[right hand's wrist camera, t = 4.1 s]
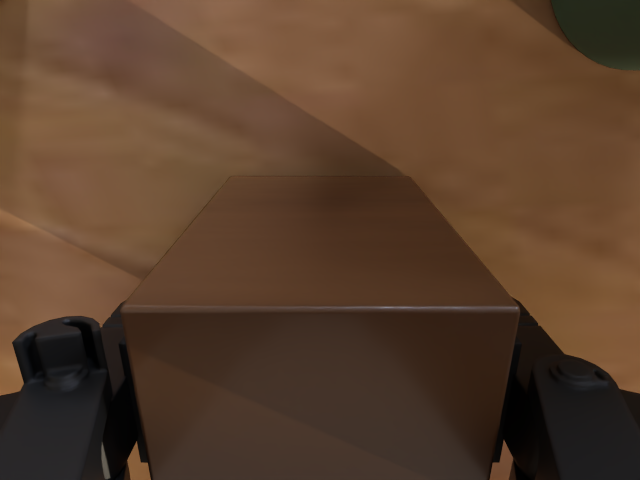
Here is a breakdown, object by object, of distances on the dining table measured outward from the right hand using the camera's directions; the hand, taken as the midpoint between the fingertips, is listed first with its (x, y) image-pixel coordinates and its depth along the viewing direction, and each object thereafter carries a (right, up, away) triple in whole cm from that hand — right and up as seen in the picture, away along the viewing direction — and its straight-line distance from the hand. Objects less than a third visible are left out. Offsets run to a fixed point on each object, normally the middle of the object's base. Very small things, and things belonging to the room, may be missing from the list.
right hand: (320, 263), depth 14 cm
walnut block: (0, 0, 0) cm, 0 cm away
